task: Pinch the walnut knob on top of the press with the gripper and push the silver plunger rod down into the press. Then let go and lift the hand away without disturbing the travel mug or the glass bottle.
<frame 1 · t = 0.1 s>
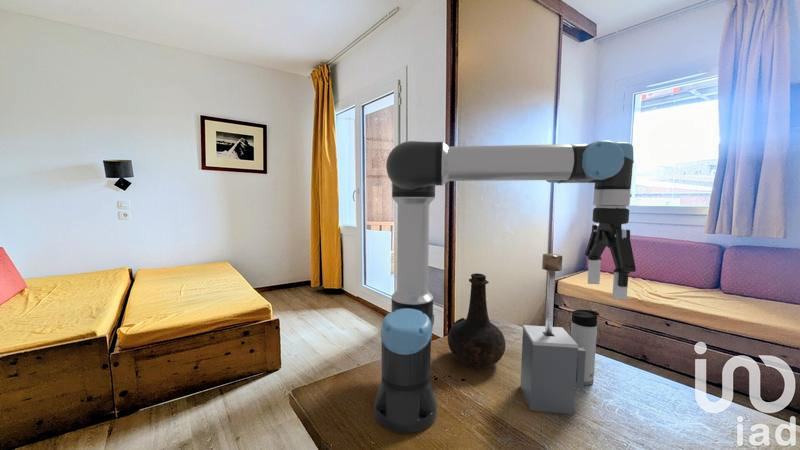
hand: (605, 291, 80), 28 cm above the table, tool pointing down, fingers open, 13 cm apart
glass bottle: (475, 361, 100), on the table
plunger: (550, 301, 79), point 26 cm above the table, slide at 0.0 cm
travel mug: (581, 380, 90), on the table
press: (545, 399, 81), on the table
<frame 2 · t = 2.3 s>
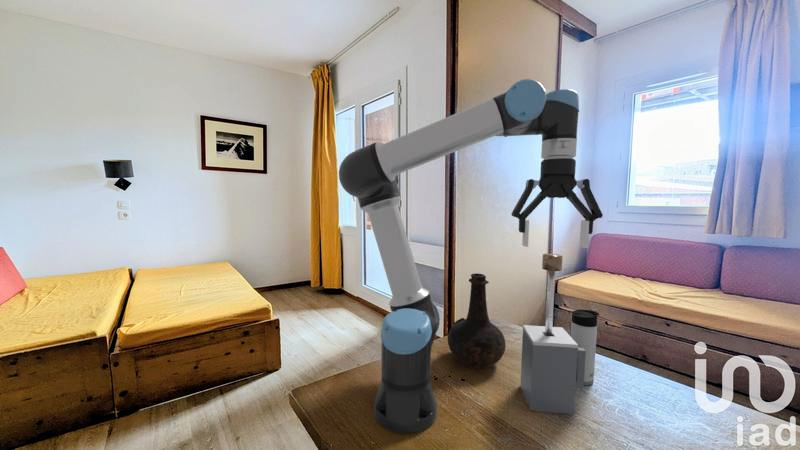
hand: (554, 246, 78), 40 cm above the table, tool pointing down, fingers open, 13 cm apart
nothing on the table moved.
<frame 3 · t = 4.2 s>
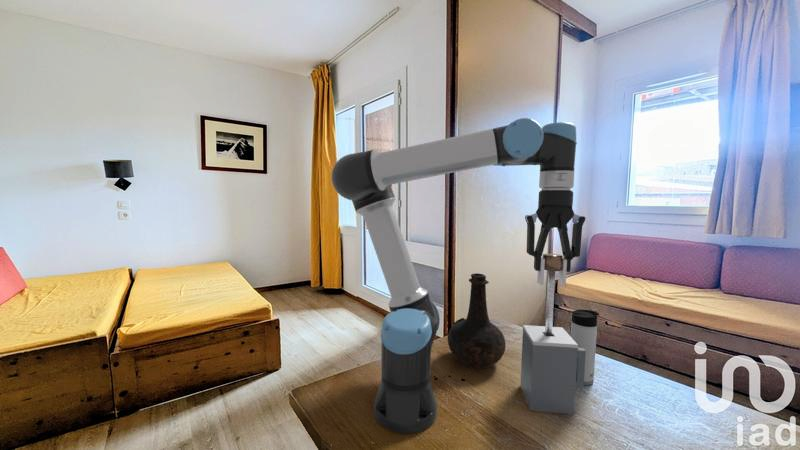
hand: (551, 283, 79), 30 cm above the table, tool pointing down, fingers closed on plunger, 4 cm apart
plunger: (550, 301, 79), point 26 cm above the table, slide at 0.0 cm, touching gripper
everything else where it was.
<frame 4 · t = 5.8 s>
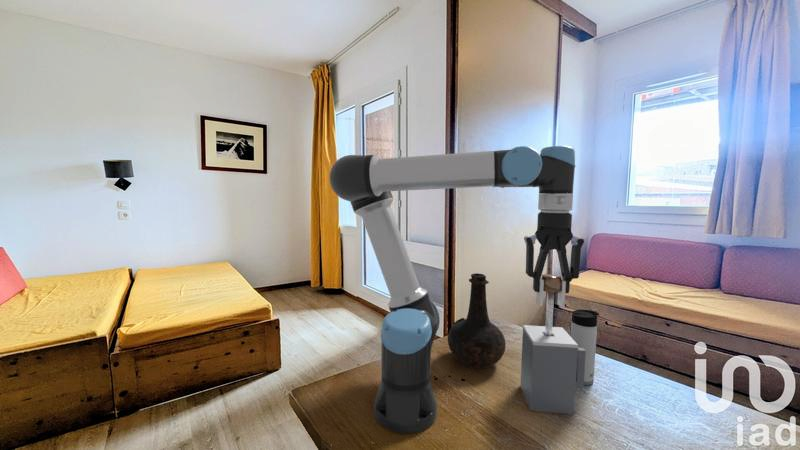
hand: (550, 304, 79), 25 cm above the table, tool pointing down, fingers closed on plunger, 4 cm apart
plunger: (549, 322, 80), point 20 cm above the table, slide at 5.3 cm, touching gripper
everything else where it was.
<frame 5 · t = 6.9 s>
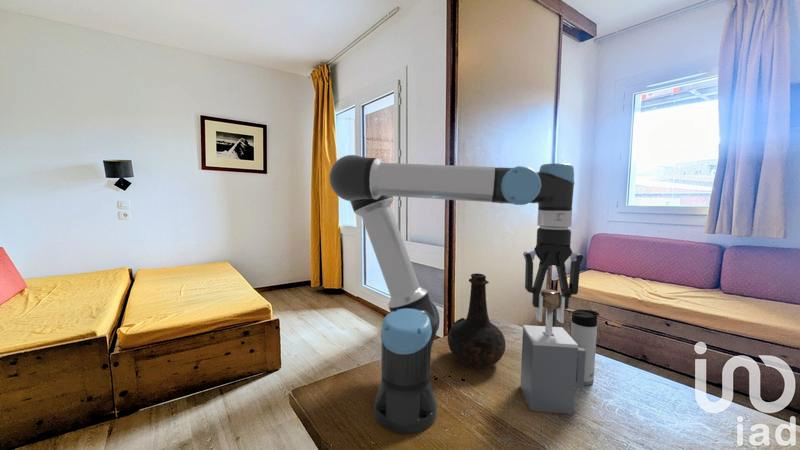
hand: (549, 320, 80), 21 cm above the table, tool pointing down, fingers closed on plunger, 4 cm apart
plunger: (548, 337, 80), point 16 cm above the table, slide at 9.3 cm, touching gripper
everything else where it was.
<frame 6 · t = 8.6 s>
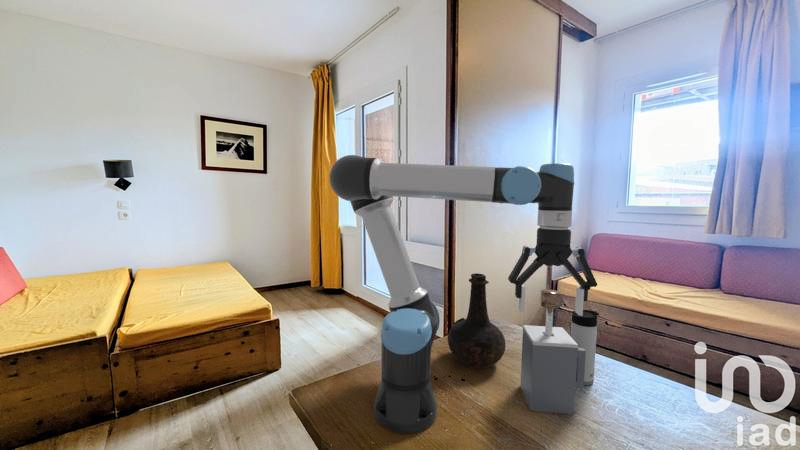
hand: (549, 312, 79), 23 cm above the table, tool pointing down, fingers open, 13 cm apart
plunger: (548, 337, 80), point 16 cm above the table, slide at 9.3 cm
everything else where it was.
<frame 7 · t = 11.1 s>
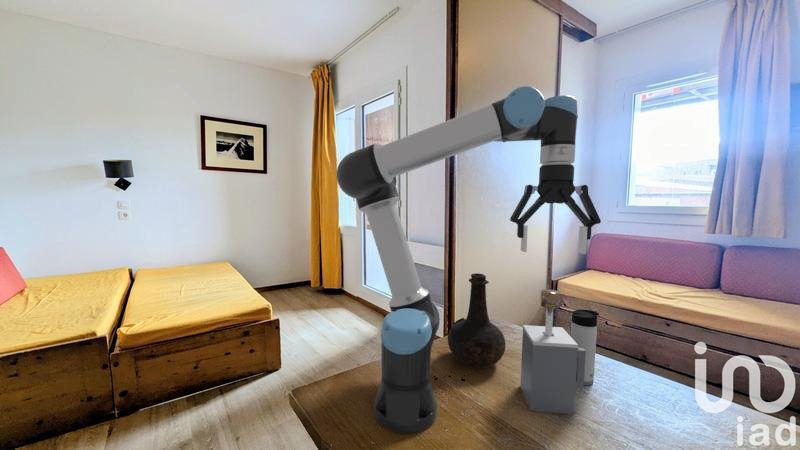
hand: (552, 252, 78), 38 cm above the table, tool pointing down, fingers open, 13 cm apart
nothing on the table moved.
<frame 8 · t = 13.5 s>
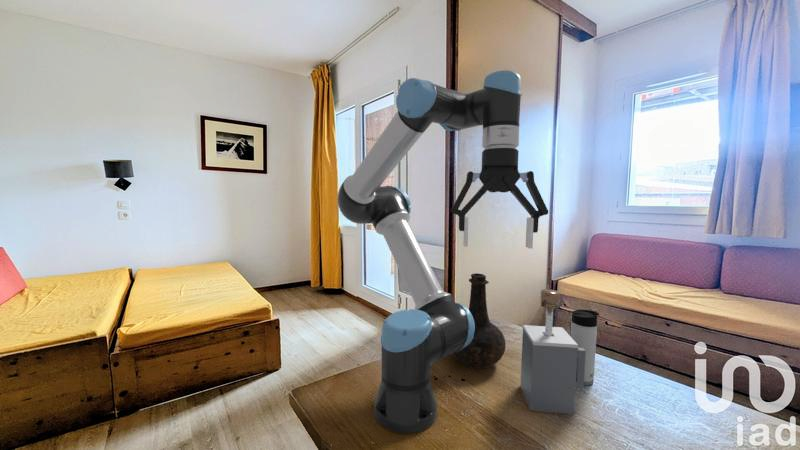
hand: (496, 246, 70), 41 cm above the table, tool pointing down, fingers open, 13 cm apart
nothing on the table moved.
at the end: plunger slide at 9.3 cm; travel mug moved 0.2 cm from its start; glass bottle moved 0.3 cm from its start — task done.
